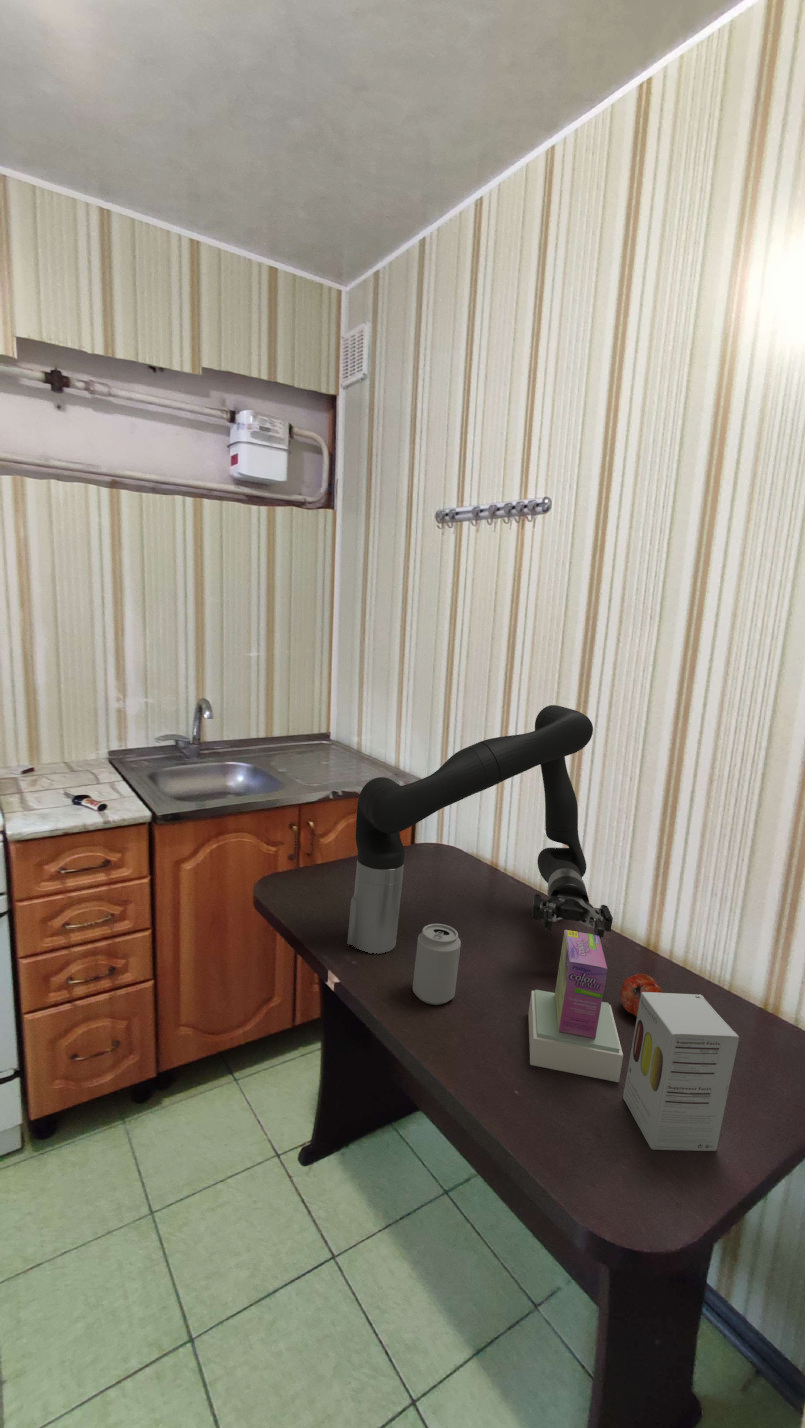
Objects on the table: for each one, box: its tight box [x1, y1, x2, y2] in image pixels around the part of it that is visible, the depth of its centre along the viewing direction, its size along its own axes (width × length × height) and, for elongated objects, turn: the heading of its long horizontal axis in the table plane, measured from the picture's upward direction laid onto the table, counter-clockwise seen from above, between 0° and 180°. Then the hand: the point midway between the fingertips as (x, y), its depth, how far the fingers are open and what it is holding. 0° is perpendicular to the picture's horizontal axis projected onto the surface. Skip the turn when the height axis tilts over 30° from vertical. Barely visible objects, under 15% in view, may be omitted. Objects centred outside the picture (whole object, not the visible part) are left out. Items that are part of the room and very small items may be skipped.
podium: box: [527, 989, 624, 1083], centre depth 103 cm, size 13×13×5 cm
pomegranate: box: [619, 973, 665, 1018], centre depth 114 cm, size 7×7×10 cm
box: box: [554, 929, 608, 1039], centre depth 102 cm, size 10×6×12 cm, turn 170°
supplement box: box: [622, 992, 740, 1152], centre depth 87 cm, size 10×9×17 cm
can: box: [412, 923, 462, 1006], centre depth 113 cm, size 8×8×12 cm
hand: (574, 930), depth 114 cm, fingers open, 8 cm apart
